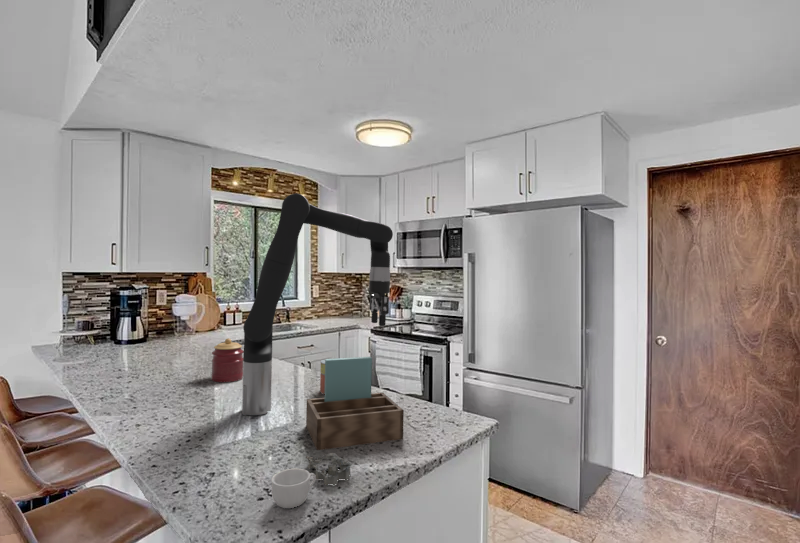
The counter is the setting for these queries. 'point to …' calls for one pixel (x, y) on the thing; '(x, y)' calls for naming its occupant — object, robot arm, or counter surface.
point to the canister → (227, 362)
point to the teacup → (291, 487)
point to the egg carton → (331, 468)
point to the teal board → (348, 378)
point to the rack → (353, 421)
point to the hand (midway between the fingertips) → (378, 324)
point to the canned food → (323, 376)
